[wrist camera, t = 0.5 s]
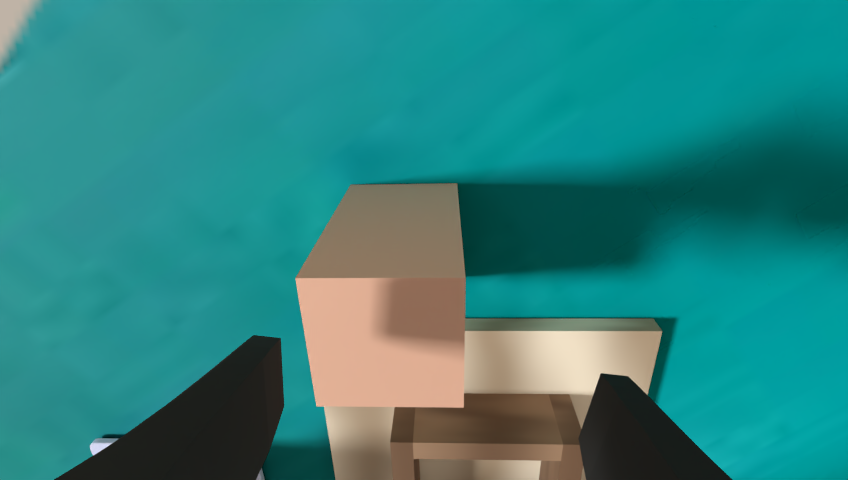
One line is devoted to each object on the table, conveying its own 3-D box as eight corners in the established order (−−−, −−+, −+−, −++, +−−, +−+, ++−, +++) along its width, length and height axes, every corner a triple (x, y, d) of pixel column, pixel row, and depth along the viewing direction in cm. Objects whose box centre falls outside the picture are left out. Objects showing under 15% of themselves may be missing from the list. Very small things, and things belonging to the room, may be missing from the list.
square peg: (359, 277, 21) (316, 406, 14) (350, 184, 19) (295, 278, 12) (456, 277, 21) (463, 407, 14) (457, 183, 19) (465, 277, 12)
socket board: (348, 529, 29) (335, 601, 25) (317, 318, 22) (293, 374, 19) (605, 534, 28) (629, 609, 25) (653, 318, 22) (695, 377, 18)
